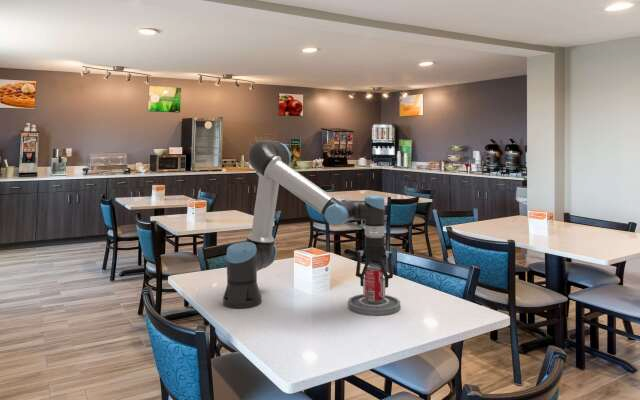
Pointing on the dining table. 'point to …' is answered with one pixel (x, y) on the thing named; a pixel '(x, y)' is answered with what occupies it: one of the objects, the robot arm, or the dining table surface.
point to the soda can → (374, 284)
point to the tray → (374, 305)
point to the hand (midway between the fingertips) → (374, 294)
